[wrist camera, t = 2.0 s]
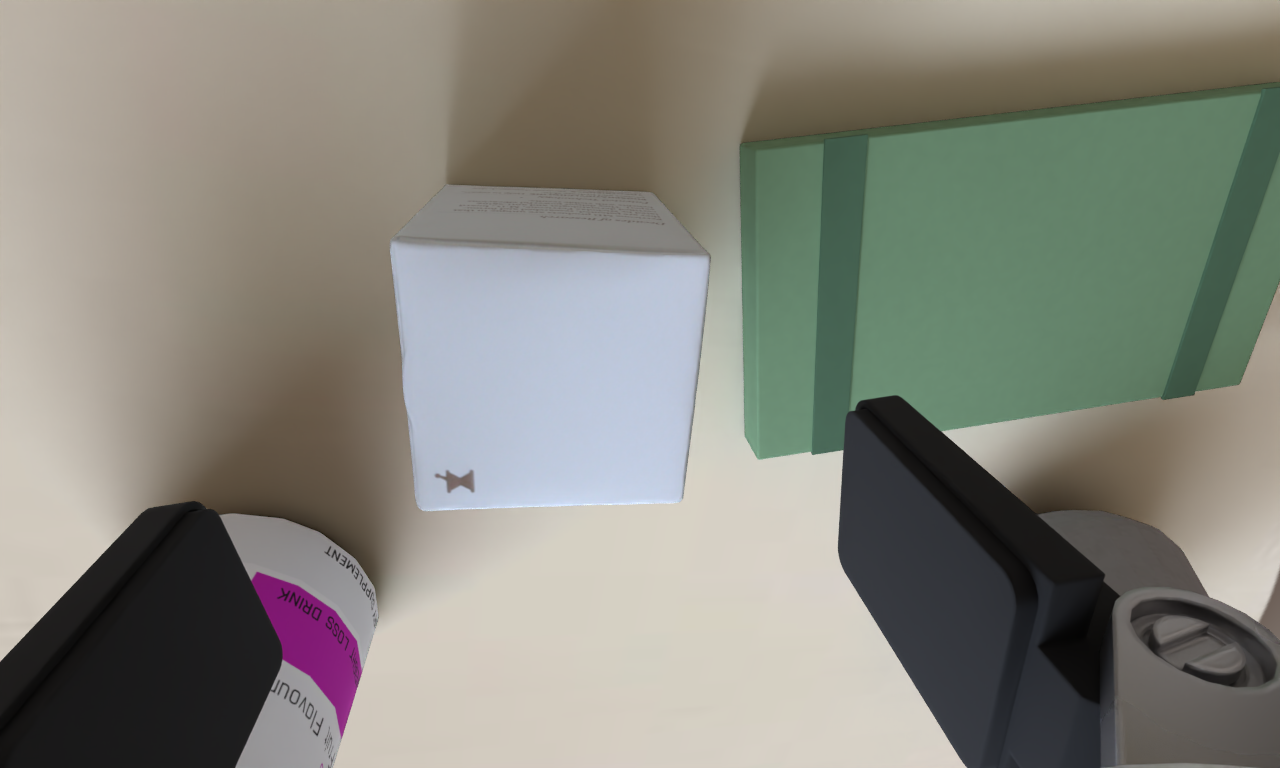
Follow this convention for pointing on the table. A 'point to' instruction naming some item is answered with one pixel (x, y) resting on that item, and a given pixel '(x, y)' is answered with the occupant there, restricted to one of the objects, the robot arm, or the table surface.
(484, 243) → the product box
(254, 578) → the supplement can
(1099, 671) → the robot arm
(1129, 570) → the coffee pot
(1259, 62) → the table surface
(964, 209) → the dish towel
